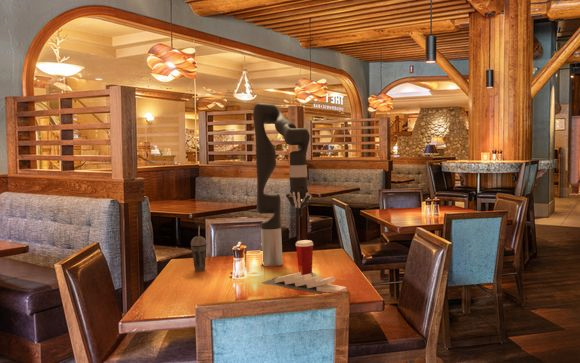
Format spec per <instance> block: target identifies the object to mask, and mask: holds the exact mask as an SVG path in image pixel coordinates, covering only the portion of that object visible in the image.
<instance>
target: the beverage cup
mask: <svg viewBox="0 0 580 363" xmlns="http://www.w3.org/2000/svg"><path fill="white" fill-rule="evenodd" d="M200 227H201V226H200V225H198V235H196V236H194V237H193V238H192V239H191V241H190V248H191V254H192V260H193V261H192V262H193V268H194V271H195V272H203V271H205V270H206V257H207V256H206V255H207V245H208V243H207V241H206V239H205V237H203V236H201V235H200V230H201V228H200Z"/></svg>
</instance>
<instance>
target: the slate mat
mask: <svg viewBox="0 0 580 363" xmlns="http://www.w3.org/2000/svg"><path fill="white" fill-rule="evenodd" d="M279 277H280V276H279ZM279 277H277V276H276V277H273V278H271V279H268V280H266V281H262V282H261V284H264V285H270V286H275V287H281V288H287V289H291V290H298V291H303V292H307V293H314V294H322V293H323V292H322V291H317V286H316V287H312V288H307V285H301V286H297V287H296V286H295V283H292V284H287V285H285V282H284V281H282V282H278V283H275V280H274V279H276V278H279Z"/></svg>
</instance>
